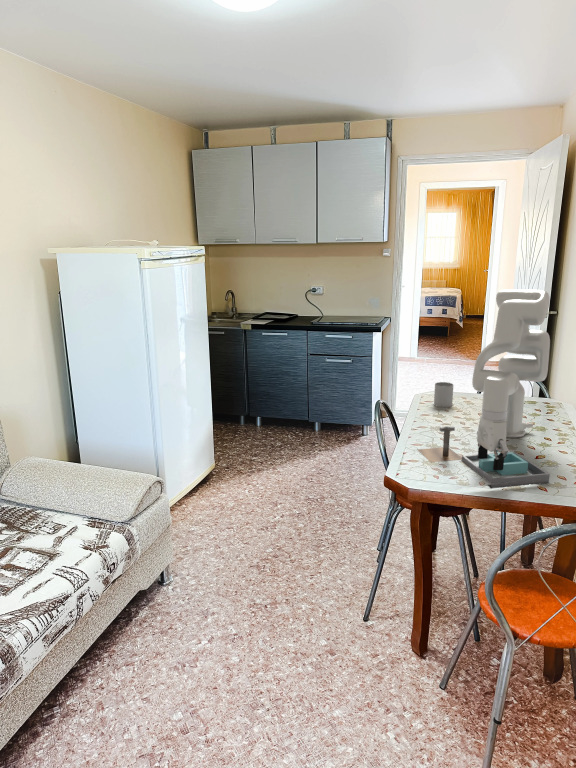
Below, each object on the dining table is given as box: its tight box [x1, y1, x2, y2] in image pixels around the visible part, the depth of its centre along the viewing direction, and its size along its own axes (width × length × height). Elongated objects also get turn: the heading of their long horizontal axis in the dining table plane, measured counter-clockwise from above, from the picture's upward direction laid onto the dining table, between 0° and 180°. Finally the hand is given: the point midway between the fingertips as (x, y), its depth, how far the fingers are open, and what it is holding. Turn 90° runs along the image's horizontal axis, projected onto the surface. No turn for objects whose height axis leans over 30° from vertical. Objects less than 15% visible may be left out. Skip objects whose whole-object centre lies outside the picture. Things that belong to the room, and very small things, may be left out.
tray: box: [461, 450, 551, 489], centre depth 174 cm, size 20×20×3 cm
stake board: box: [417, 426, 462, 463], centre depth 186 cm, size 12×12×12 cm
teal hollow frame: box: [478, 451, 528, 476], centre depth 173 cm, size 9×14×4 cm, turn 99°
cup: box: [433, 381, 454, 408], centre depth 249 cm, size 8×8×10 cm
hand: (489, 464), depth 172 cm, fingers open, 9 cm apart
